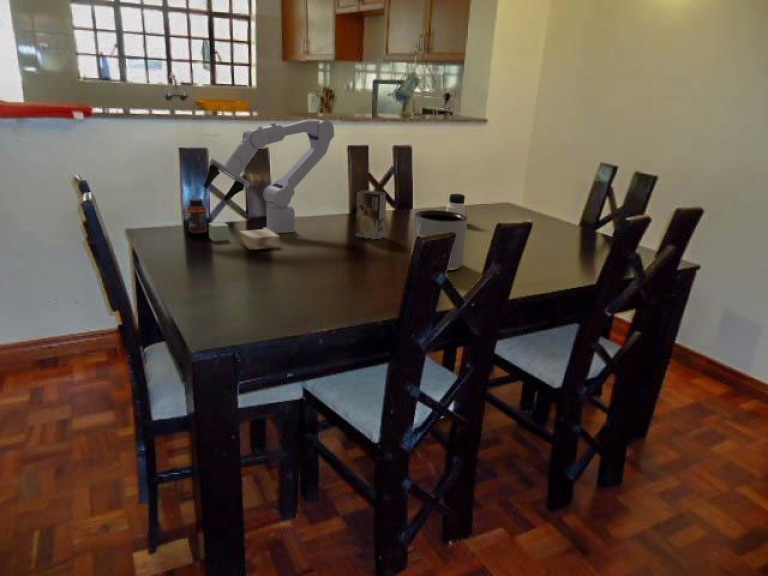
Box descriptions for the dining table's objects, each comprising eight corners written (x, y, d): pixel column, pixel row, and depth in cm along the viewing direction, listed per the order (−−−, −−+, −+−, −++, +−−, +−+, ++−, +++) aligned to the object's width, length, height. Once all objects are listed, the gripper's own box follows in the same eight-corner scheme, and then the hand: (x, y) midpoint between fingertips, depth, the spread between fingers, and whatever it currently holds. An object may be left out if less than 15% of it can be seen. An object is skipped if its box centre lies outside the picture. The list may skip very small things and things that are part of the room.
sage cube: (224, 236, 190) (223, 222, 188) (228, 240, 186) (228, 225, 184) (209, 237, 187) (208, 223, 186) (213, 241, 183) (212, 226, 182)
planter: (433, 255, 184) (437, 207, 178) (472, 267, 173) (478, 217, 168) (399, 263, 173) (403, 213, 168) (439, 276, 162) (444, 224, 157)
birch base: (268, 240, 190) (268, 228, 188) (279, 248, 182) (279, 236, 180) (239, 242, 185) (239, 231, 183) (249, 250, 177) (249, 238, 175)
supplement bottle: (209, 230, 196) (208, 198, 192) (202, 234, 190) (201, 201, 186) (193, 229, 196) (191, 196, 192) (185, 233, 191) (183, 200, 187)
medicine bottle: (464, 225, 227) (467, 196, 223) (446, 224, 227) (449, 195, 223) (462, 221, 234) (465, 193, 230) (445, 220, 234) (447, 192, 230)
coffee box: (385, 236, 202) (387, 192, 197) (378, 240, 197) (380, 194, 191) (361, 233, 206) (364, 189, 200) (354, 236, 200) (356, 191, 195)
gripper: (217, 144, 181) (193, 178, 179) (255, 168, 181) (231, 203, 179) (222, 151, 188) (198, 184, 186) (258, 175, 188) (235, 208, 186)
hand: (215, 193), depth 183 cm, fingers open, 7 cm apart
